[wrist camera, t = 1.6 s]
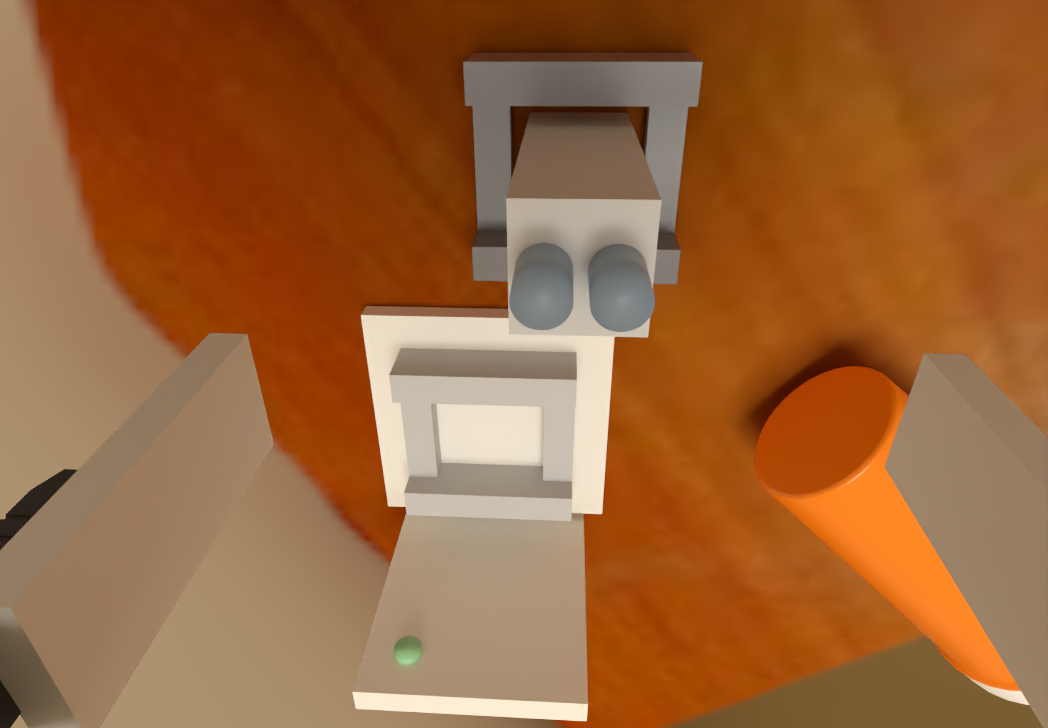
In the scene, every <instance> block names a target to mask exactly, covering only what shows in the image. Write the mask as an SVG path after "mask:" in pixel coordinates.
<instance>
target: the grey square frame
mask: <svg viewBox="0 0 1048 728" xmlns="http://www.w3.org/2000/svg"><path fill="white" fill-rule="evenodd" d="M702 65H703V61H701V60H700V59H698V58H697V57H696V56H694V55H693V54H692V53H690V52H473V53H472V54H471V55H470V56H469V57H468V58H467V59H466V60H464V61H463V70H464V91H465V106H472V107H473V131H474V154H475V177H476V201H477V224H478V231H477V234H476V237H475V240H474V243H473V245H472V257H473V278H474V281H508V263H507V213H506V197H507V194H508V190H509V186H510V183H511V179H512V176H513V143H512V106H637V107H647V111H646V123H645V135H644V148H643V153H644V156H645V158H646V161H647V163H648V166H649V169H650V171H651V174H652V176H653V179H654V182H655V184H656V187H657V189H658V192H659V195H660V197H661V200H662V201H661V211H660V221H659V231H658V242H657V252H656V262H655V272H654V282H653V284H677V278H678V269H679V261H680V252H681V249H680V247H679V244H678V242H677V239H676V236H675V234H674V231H675V222H676V213H677V204H678V195H679V186H680V177H681V168H682V159H683V150H684V141H685V132H686V123H687V114H688V107H698V99H699V91H700V82H701V74H702Z"/></svg>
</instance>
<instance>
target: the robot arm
mask: <svg viewBox="0 0 1048 728" xmlns="http://www.w3.org/2000/svg"><path fill="white" fill-rule="evenodd" d="M273 445H274V443H273V438H272V434H271V430H270V426H269V422H268V418H267V414H266V410H265V406H264V402H263V397H262V393H261V389H260V385H259V381H258V377H257V373H256V369H255V365H254V360H253V356H252V352H251V348H250V344H249V340H248V336H247V334H222V333H209V335H208V336H207V337H206V338H205V339H204V340H203V341H202V342H201V343H200V344H199V345H198V346H197V347H196V348H195V349H194V350H193V351H192V352H191V353H190V354H189V355H188V356H187V357H186V358H185V359H184V360H183V361H182V362H181V364H180V365H179V366H178V367H177V368H176V369H175V370H174V371H173V372H172V373H171V374H170V375H169V376H168V377H167V378H166V379H165V380H164V381H163V382H162V383H161V384H160V385H159V387H158V388H156V389H155V390H154V392H153V393H152V394H151V395H150V396H149V397H148V398H147V399H146V400H145V401H144V402H143V403H142V404H141V405H140V406H139V407H138V408H137V409H136V410H135V411H134V412H133V413H132V414H131V416H130V417H128V419H127V420H126V421H125V422H124V423H123V424H122V425H121V426H120V427H119V428H118V429H117V430H116V431H115V432H114V433H113V434H112V435H111V436H110V437H109V438H108V439H107V440H106V441H105V442H104V443H103V444H102V445H101V447H99V449H98V450H97V451H96V452H95V453H94V454H93V455H92V456H91V457H90V458H89V459H88V460H87V461H86V462H85V463H84V464H83V465H82V466H81V467H80V468H79V469H78V470H69V469H64V470H63V471H61V472H59V473H58V474H56V475H54V476H53V477H51V478H49V479H48V480H47V481H45V482H43V483H41V484H40V485H38V486H36V487H35V488H33V489H32V490H30V491H29V492H28V493H27V494H26V495H25V496H24V497H23V498H22V499H21V500H20V501H19V502H18V503H17V504H16V505H15V506H14V507H13V508H12V509H11V510H10V511H9V512H8V513H7V514H6V518H5V519H4V520H3V519H1V520H0V728H10V727H11V726H12V725H13V723H14V722H15V720H16V719H17V717H18V716H19V715H21V717H22V718H23V720H24V721H25V723H26V724H27V726H28V727H29V728H100V726H101V725H102V723H103V721H104V720H105V718H106V716H107V715H108V713H109V712H110V710H111V708H112V706H113V705H114V703H115V702H116V700H117V699H118V697H119V695H120V694H121V692H122V690H123V689H124V687H125V686H126V684H127V682H128V680H129V679H130V677H131V676H132V674H133V672H134V671H135V669H136V668H137V666H138V664H139V663H140V661H141V659H142V658H143V656H144V655H145V653H146V651H147V650H148V648H149V646H150V645H151V643H152V642H153V640H154V638H155V636H156V635H157V633H158V632H159V630H160V629H161V627H162V625H163V624H164V622H165V620H166V619H167V617H168V615H169V614H170V612H171V611H172V609H173V607H174V606H175V604H176V602H177V601H178V599H179V598H180V596H181V594H182V593H183V591H184V589H185V588H186V586H187V584H188V583H189V581H190V579H191V578H192V576H193V575H194V573H195V572H196V570H197V568H198V567H199V565H200V563H201V561H202V560H203V559H204V557H205V555H206V554H207V552H208V550H209V549H210V547H211V545H212V544H213V542H214V541H215V539H216V537H217V535H218V534H219V532H220V531H221V529H222V527H223V526H224V524H225V523H226V521H227V519H228V518H229V516H230V515H231V513H232V511H233V509H234V508H235V506H236V505H237V503H238V501H239V500H240V498H241V497H242V495H243V493H244V492H245V490H246V488H247V487H248V485H249V484H250V482H251V480H252V479H253V477H254V475H255V474H256V472H257V471H258V469H259V467H260V466H261V464H262V462H263V461H264V459H265V457H266V456H267V454H268V453H269V451H270V449H271V448H272V446H273ZM884 467H885V469H886V470H887V472H888V474H889V475H890V477H891V479H892V480H893V482H894V484H895V485H896V487H897V489H898V490H899V492H900V493H901V495H902V497H903V498H904V500H905V502H906V503H907V505H908V507H909V508H910V510H911V511H912V513H913V515H914V516H915V518H916V520H917V521H918V523H919V525H920V526H921V528H922V530H923V531H924V533H925V534H926V536H927V538H928V539H929V541H930V543H931V544H932V546H933V548H934V549H935V551H936V552H937V554H938V556H939V557H940V559H941V561H942V562H943V564H944V566H945V567H946V569H947V571H948V572H949V574H950V575H951V577H952V579H953V580H954V582H955V584H956V585H957V587H958V589H959V590H960V592H961V593H962V595H963V597H964V598H965V600H966V602H967V603H968V605H969V607H970V608H971V610H972V612H973V613H974V615H975V616H976V618H977V620H978V621H979V623H980V625H981V626H982V628H983V630H984V631H985V633H986V634H987V636H988V638H989V639H990V641H991V643H992V644H993V646H994V648H995V649H996V651H997V653H998V654H999V656H1000V657H1001V659H1002V661H1003V662H1004V664H1005V666H1006V667H1007V669H1008V671H1009V672H1010V674H1011V675H1012V677H1013V679H1014V680H1015V682H1016V684H1017V685H1018V687H1019V689H1020V690H1021V692H1022V694H1023V695H1024V697H1025V698H1026V700H1027V702H1028V703H1029V705H1030V707H1031V708H1032V710H1033V712H1034V713H1035V715H1036V716H1037V718H1038V720H1039V721H1040V723H1041V725H1042V726H1043V728H1048V437H1047V436H1046V435H1045V434H1044V433H1043V432H1042V431H1041V430H1040V429H1039V428H1038V427H1037V426H1036V425H1035V424H1034V423H1033V422H1032V421H1031V420H1030V419H1029V418H1028V417H1027V416H1026V415H1025V414H1024V413H1023V412H1022V411H1021V410H1020V409H1019V408H1018V407H1017V406H1016V405H1015V404H1014V403H1013V402H1012V401H1011V400H1010V399H1009V398H1008V397H1007V396H1006V395H1005V394H1004V393H1003V392H1002V391H1001V390H1000V389H999V388H998V387H997V386H996V385H995V384H994V383H993V382H992V381H991V380H990V379H989V377H988V376H987V375H986V374H985V373H984V372H983V371H982V370H981V369H980V368H979V367H978V366H977V365H976V364H975V363H974V362H973V361H972V360H971V359H970V358H969V357H968V356H967V355H966V354H931V353H924V355H923V357H922V360H921V363H920V366H919V369H918V372H917V375H916V377H915V380H914V383H913V386H912V389H911V392H910V395H909V397H908V400H907V403H906V406H905V409H904V412H903V414H902V417H901V420H900V423H899V426H898V429H897V432H896V434H895V437H894V440H893V443H892V446H891V449H890V452H889V454H888V457H887V460H886V463H885V466H884Z"/></svg>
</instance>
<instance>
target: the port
mask: <svg viewBox="0 0 1048 728" xmlns="http://www.w3.org/2000/svg"><path fill="white" fill-rule="evenodd" d="M361 320H362V327H363V334H364V341H365V348H366V355H367V362H368V369H369V376H370V383H371V390H372V397H373V404H374V411H375V417H376V424H377V431H378V438H379V445H380V452H381V459H382V466H383V473H384V480H385V487H386V494H387V501H388V506H396V507H406V515H405V519H404V522H403V525H402V529H401V532H400V535H399V539H398V542H397V545H396V549H395V552H394V555H393V559H392V562H391V565H390V569H389V572H388V575H387V579H386V582H385V585H384V588H383V592H382V595H381V598H380V602H379V605H378V608H377V612H376V615H375V618H374V622H373V625H372V628H371V632H370V635H369V638H368V641H367V645H366V648H365V651H364V655H363V658H362V661H361V665H360V668H359V672H358V675H357V678H356V681H355V685H354V688H353V691H352V692H353V697H354V702H355V706H356V709H370V710H389V711H407V712H426V713H444V714H462V715H480V716H499V717H500V716H501V717H518V718H519V717H520V718H536V719H555V720H573V721H587V709H588V690H587V646H586V601H585V556H584V513H585V514H602V507H603V493H604V479H605V464H606V450H607V436H608V421H609V407H610V393H611V378H612V364H613V350H614V337H608V336H564V335H519V334H509V312H508V309H492V308H443V307H394V306H366V307H365V309H364V311H363V312H362V314H361Z"/></svg>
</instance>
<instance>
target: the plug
mask: <svg viewBox="0 0 1048 728" xmlns="http://www.w3.org/2000/svg"><path fill="white" fill-rule="evenodd" d="M661 201H662V200H661V197H660V195H659V192H658V189H657V187H656V184H655V182H654V179H653V176H652V174H651V171H650V169H649V166H648V163H647V161H646V158H645V156H644V153H643V151H642V148H641V145H640V143H639V140H638V138H637V135H636V132H635V130H634V127H633V125H632V122H631V120H630V117H629V114H628V113H615V112H530V115H529V118H528V122H527V125H526V129H525V133H524V136H523V140H522V143H521V147H520V151H519V154H518V158H517V161H516V165H515V168H514V172H513V176H512V179H511V183H510V186H509V190H508V194H507V197H506V213H507V263H508V312H509V334H519V335H564V336H608V337H648V333H649V323H650V316H651V315H652V313H653V310H654V306H655V296H654V292H653V282H654V272H655V262H656V252H657V242H658V231H659V221H660V211H661Z"/></svg>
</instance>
